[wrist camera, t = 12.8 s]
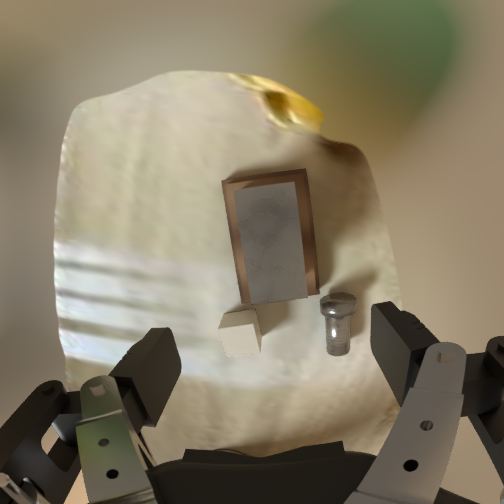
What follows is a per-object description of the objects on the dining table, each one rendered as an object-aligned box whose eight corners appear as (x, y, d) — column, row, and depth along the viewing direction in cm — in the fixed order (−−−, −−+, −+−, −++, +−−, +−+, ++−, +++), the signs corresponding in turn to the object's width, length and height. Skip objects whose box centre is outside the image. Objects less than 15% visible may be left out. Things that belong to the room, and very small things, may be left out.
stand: (317, 289, 33) (321, 297, 31) (243, 298, 34) (240, 307, 32) (304, 169, 30) (307, 168, 28) (223, 180, 31) (219, 180, 29)
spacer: (261, 336, 35) (260, 353, 31) (231, 340, 36) (226, 357, 32) (255, 308, 34) (253, 323, 31) (223, 313, 35) (218, 328, 31)
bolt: (351, 340, 35) (359, 358, 31) (320, 345, 35) (325, 364, 31) (351, 290, 33) (360, 304, 29) (317, 295, 33) (322, 310, 29)
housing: (290, 182, 28) (294, 181, 22) (301, 276, 30) (308, 298, 25) (240, 189, 29) (232, 190, 23) (254, 282, 31) (250, 305, 25)
